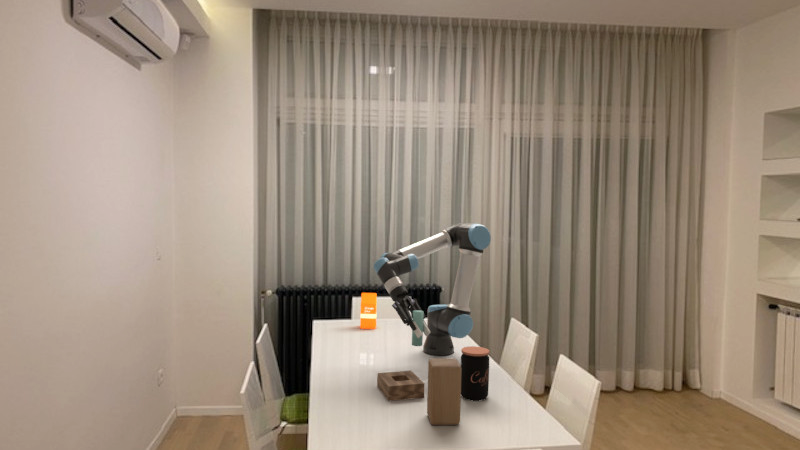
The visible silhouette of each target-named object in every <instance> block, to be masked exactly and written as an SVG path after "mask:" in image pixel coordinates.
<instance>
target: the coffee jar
mask: <svg viewBox="0 0 800 450" xmlns="http://www.w3.org/2000/svg"><path fill="white" fill-rule="evenodd" d="M460 351H461V353H462V354H461V356H460V366H461V398H463V399H464V398H465V399H464V400H467V401H471V400H473V401H474V402H480V401H479V400H482V401H484V399H485V400H486V399H487V397H488V396H489V382H490V380H489V379H490V356H489V355H490V350H489V349H488V348H485V347H482V346H464V347H462V348H461V349H460ZM473 401H472V402H473Z"/></svg>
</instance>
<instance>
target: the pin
mask: <svg viewBox="0 0 800 450" xmlns="http://www.w3.org/2000/svg"><path fill="white" fill-rule="evenodd" d="M421 310H422V309H421ZM421 310H414V311H413V314H412V320H413V321H415V322H416V324H417V325H418V327H419V329H420V330H421V332H422V334H424V332H423V315H424V314H425V313H424V310H422V311H421ZM411 332H412V333H411V346H413V347H423V338H424V337H423V336H424V335H422V336H421V337H420V338H417V336H416V334H415V333H414V331H413V330H412V329H411Z"/></svg>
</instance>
